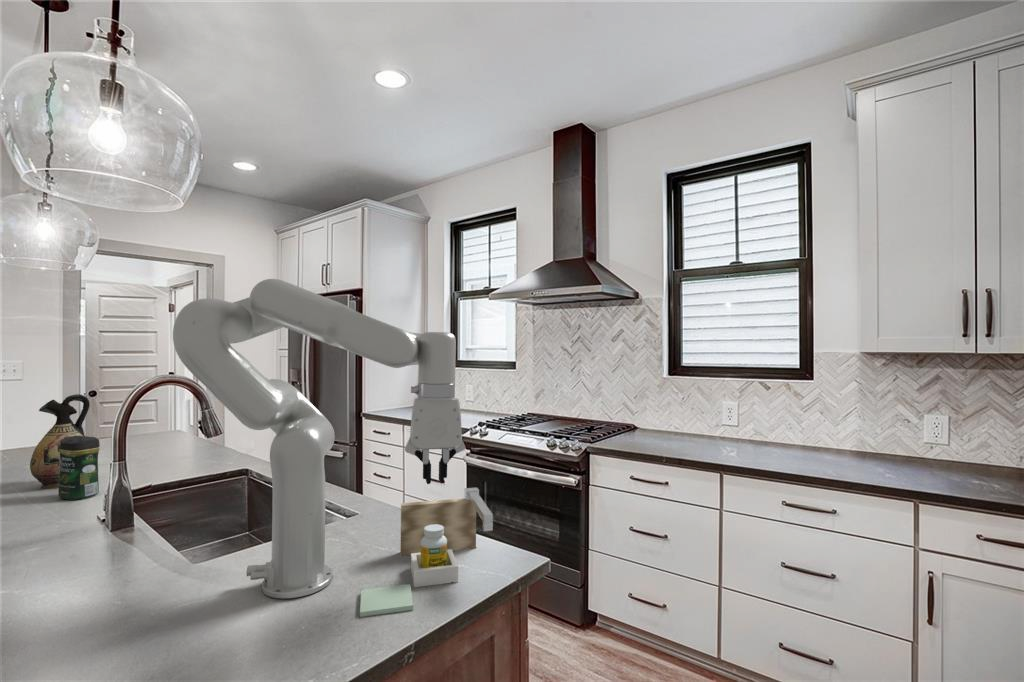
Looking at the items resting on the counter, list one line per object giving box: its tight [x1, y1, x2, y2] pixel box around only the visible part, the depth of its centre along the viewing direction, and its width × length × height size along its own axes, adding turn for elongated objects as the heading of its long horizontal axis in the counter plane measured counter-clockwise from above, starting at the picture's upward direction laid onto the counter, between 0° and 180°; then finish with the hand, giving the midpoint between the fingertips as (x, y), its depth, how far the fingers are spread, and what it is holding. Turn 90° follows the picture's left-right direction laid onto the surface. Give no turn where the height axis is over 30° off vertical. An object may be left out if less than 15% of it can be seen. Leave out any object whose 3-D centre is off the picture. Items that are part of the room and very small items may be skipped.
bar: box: [463, 487, 494, 532], centre depth 105 cm, size 3×19×3 cm, turn 16°
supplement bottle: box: [421, 524, 447, 568], centre depth 99 cm, size 5×5×10 cm
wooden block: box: [399, 497, 477, 557], centre depth 111 cm, size 17×2×11 cm, turn 106°
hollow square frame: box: [410, 549, 459, 588], centre depth 99 cm, size 9×9×3 cm
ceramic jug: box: [29, 393, 91, 490], centre depth 161 cm, size 17×15×30 cm
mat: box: [359, 583, 414, 618], centre depth 88 cm, size 9×8×1 cm
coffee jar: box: [58, 435, 101, 501], centre depth 148 cm, size 10×8×19 cm
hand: (434, 481), depth 99 cm, fingers closed
